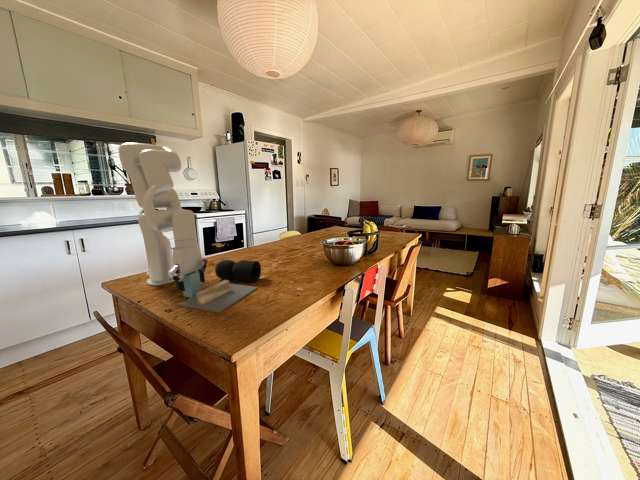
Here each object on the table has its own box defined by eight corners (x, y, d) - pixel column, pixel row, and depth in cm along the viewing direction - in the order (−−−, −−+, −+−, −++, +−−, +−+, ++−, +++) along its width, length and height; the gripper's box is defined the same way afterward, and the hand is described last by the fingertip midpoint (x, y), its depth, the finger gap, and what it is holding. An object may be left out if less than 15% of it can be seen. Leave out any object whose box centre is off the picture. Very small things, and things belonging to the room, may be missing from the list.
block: (183, 296, 98) (180, 274, 96) (193, 291, 102) (190, 270, 100) (192, 297, 96) (189, 275, 94) (201, 293, 100) (199, 271, 98)
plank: (197, 304, 89) (196, 293, 88) (225, 289, 102) (224, 280, 101) (203, 305, 88) (201, 294, 87) (230, 290, 101) (229, 280, 100)
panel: (178, 305, 90) (178, 304, 90) (222, 283, 110) (222, 282, 110) (219, 313, 83) (219, 311, 83) (257, 288, 104) (257, 287, 103)
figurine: (263, 263, 117) (225, 261, 121) (255, 258, 108) (214, 257, 113) (260, 283, 114) (221, 281, 119) (251, 280, 106) (209, 278, 110)
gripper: (196, 238, 104) (201, 277, 107) (157, 247, 88) (164, 293, 92) (211, 239, 101) (215, 279, 105) (173, 249, 86) (179, 296, 89)
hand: (191, 286), depth 98 cm, fingers open, 9 cm apart
